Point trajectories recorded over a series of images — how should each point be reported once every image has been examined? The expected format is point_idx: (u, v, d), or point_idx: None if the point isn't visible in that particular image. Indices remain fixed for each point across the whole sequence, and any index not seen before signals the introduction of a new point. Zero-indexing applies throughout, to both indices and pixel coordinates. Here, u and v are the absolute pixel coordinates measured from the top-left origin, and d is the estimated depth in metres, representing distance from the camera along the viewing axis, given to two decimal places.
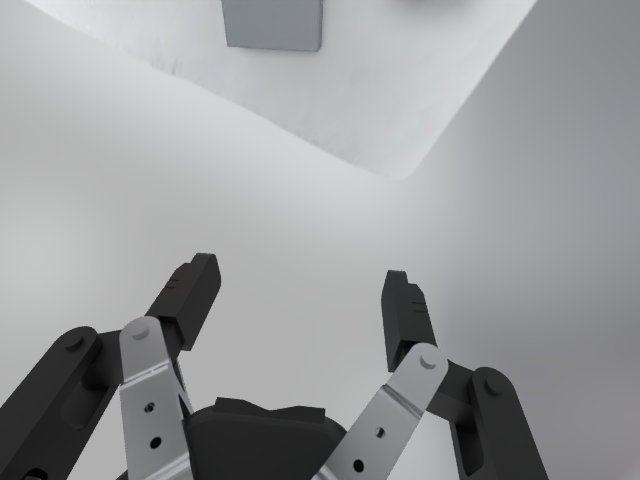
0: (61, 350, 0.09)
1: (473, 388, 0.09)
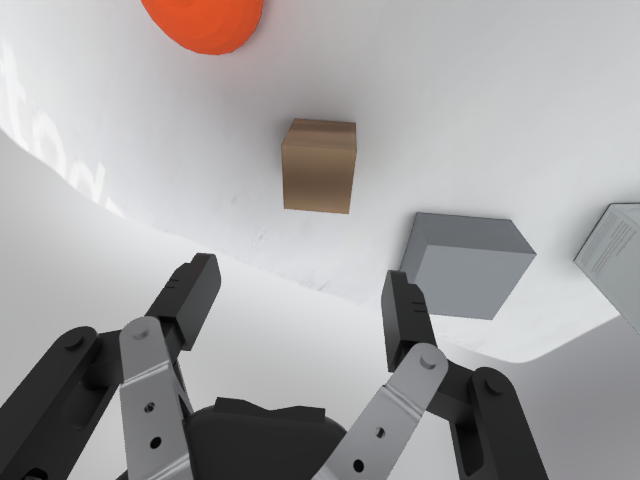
0: (61, 350, 0.09)
1: (473, 388, 0.09)
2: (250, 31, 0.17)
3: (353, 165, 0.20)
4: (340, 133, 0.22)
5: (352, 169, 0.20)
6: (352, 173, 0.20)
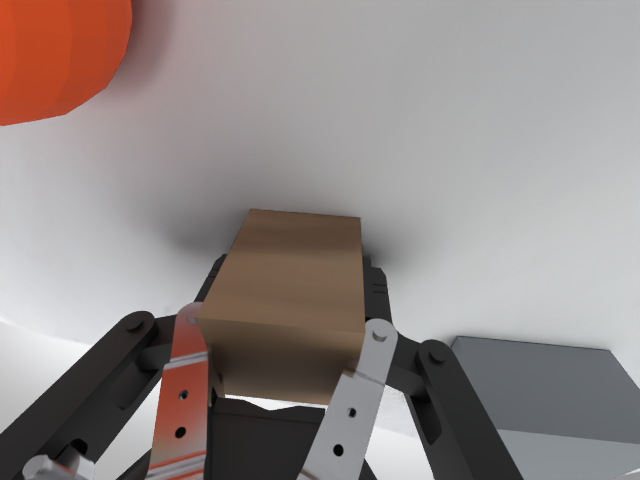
0: (123, 330, 0.10)
1: (421, 363, 0.09)
2: (88, 70, 0.07)
3: (358, 352, 0.09)
4: (331, 258, 0.11)
5: None
6: None
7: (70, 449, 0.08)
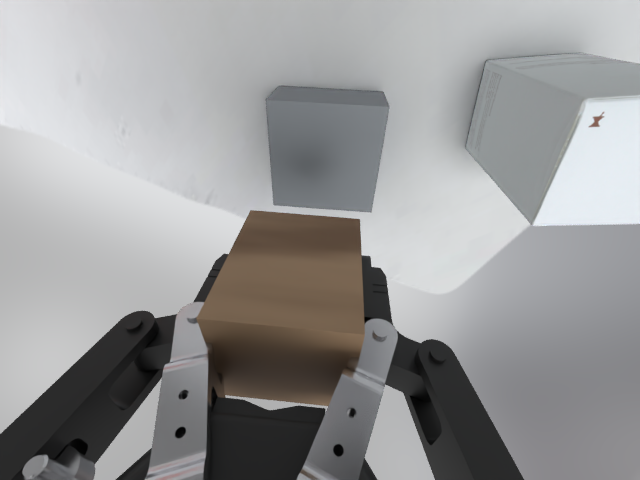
0: (123, 330, 0.10)
1: (421, 363, 0.09)
2: None
3: (357, 353, 0.09)
4: (331, 260, 0.11)
5: None
6: None
7: (70, 449, 0.08)
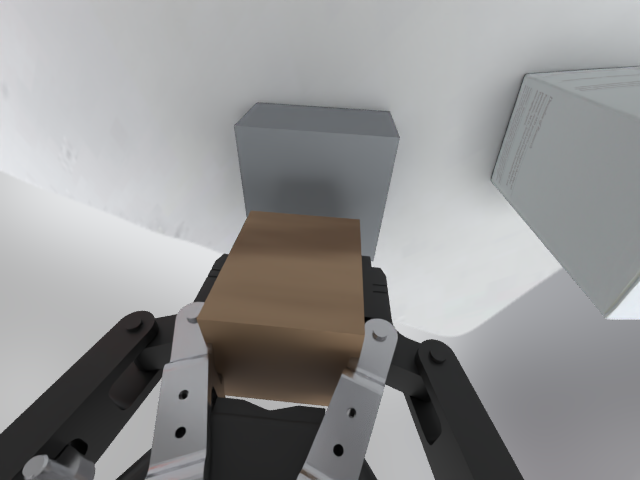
0: (123, 330, 0.10)
1: (421, 363, 0.09)
2: None
3: (357, 353, 0.09)
4: (331, 260, 0.11)
5: None
6: None
7: (70, 449, 0.08)
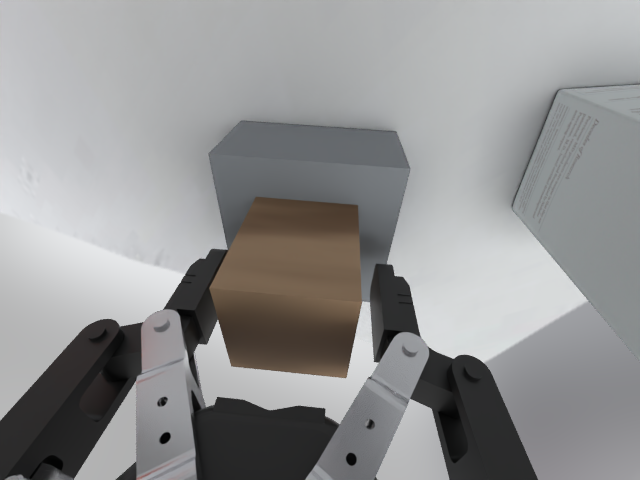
0: (85, 341, 0.09)
1: (453, 377, 0.09)
2: None
3: (355, 321, 0.10)
4: (331, 240, 0.12)
5: (353, 327, 0.10)
6: (353, 331, 0.10)
7: (45, 466, 0.07)
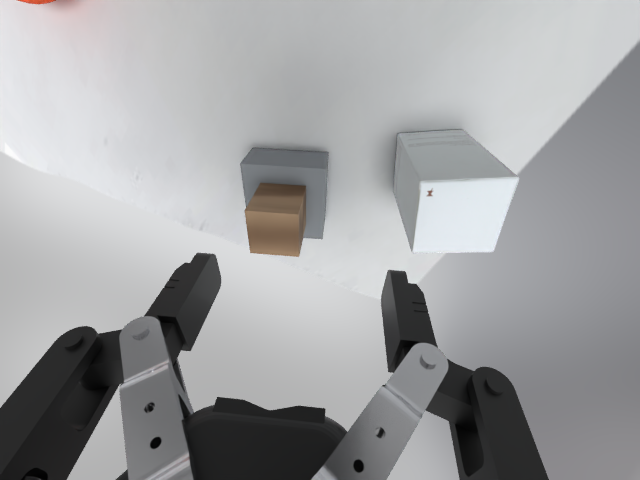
0: (61, 350, 0.09)
1: (473, 388, 0.09)
2: None
3: (297, 224, 0.27)
4: (291, 197, 0.29)
5: (297, 226, 0.27)
6: (297, 229, 0.28)
7: (29, 479, 0.07)
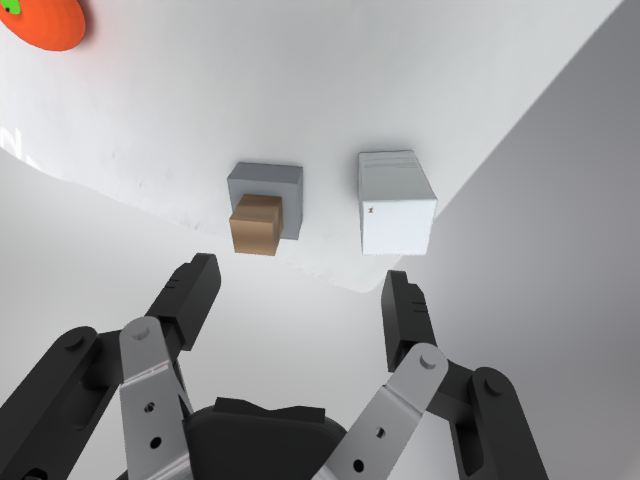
0: (61, 350, 0.09)
1: (473, 388, 0.09)
2: (73, 37, 0.30)
3: (272, 230, 0.34)
4: (268, 207, 0.36)
5: (271, 232, 0.34)
6: (272, 234, 0.34)
7: (29, 479, 0.07)
